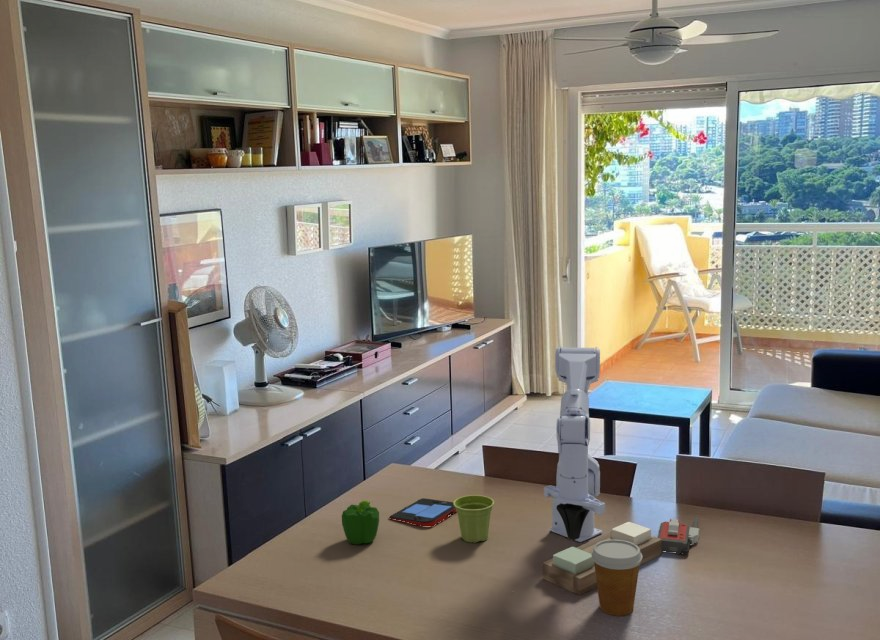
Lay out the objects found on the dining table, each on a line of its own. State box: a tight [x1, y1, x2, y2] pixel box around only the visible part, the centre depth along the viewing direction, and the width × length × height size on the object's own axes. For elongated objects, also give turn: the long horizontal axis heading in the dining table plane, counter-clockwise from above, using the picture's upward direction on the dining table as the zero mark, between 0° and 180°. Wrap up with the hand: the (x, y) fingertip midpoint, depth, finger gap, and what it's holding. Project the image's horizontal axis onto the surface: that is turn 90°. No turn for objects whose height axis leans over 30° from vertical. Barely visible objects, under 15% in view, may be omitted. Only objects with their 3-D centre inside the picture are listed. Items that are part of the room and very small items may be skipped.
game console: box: [388, 497, 457, 527], centre depth 214 cm, size 14×13×2 cm
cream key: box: [611, 521, 652, 545], centre depth 188 cm, size 6×6×3 cm
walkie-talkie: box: [657, 516, 700, 555], centre depth 195 cm, size 9×4×20 cm
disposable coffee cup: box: [591, 540, 643, 617], centre depth 164 cm, size 10×10×12 cm
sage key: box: [552, 546, 595, 575], centre depth 176 cm, size 6×6×3 cm
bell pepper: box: [341, 500, 380, 545], centre depth 198 cm, size 8×8×10 cm
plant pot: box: [452, 494, 495, 544], centre depth 198 cm, size 9×9×9 cm
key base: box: [541, 531, 662, 596], centre depth 182 cm, size 10×27×4 cm, turn 131°
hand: (573, 538), depth 175 cm, fingers closed
